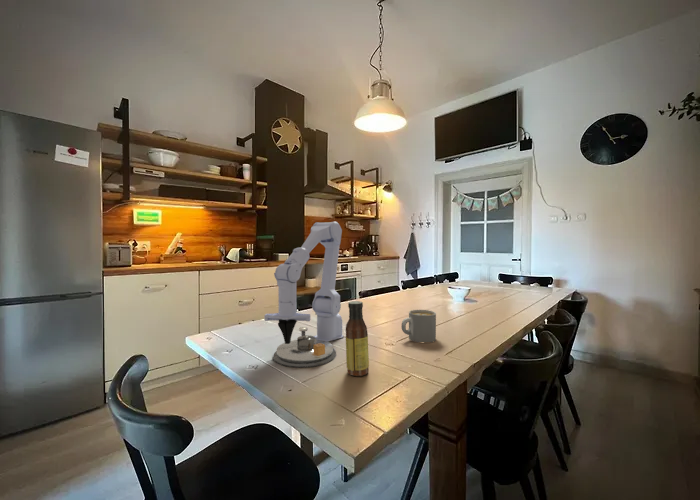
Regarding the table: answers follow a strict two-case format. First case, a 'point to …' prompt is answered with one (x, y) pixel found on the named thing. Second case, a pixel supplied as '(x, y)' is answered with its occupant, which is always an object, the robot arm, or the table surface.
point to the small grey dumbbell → (303, 330)
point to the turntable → (304, 352)
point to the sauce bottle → (356, 341)
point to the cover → (305, 343)
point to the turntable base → (302, 365)
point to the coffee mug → (420, 325)
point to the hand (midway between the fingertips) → (287, 342)
